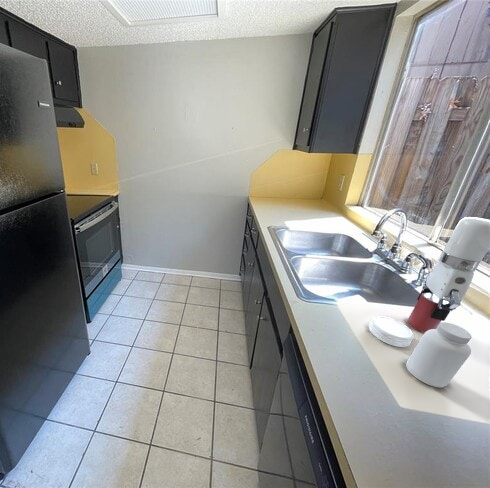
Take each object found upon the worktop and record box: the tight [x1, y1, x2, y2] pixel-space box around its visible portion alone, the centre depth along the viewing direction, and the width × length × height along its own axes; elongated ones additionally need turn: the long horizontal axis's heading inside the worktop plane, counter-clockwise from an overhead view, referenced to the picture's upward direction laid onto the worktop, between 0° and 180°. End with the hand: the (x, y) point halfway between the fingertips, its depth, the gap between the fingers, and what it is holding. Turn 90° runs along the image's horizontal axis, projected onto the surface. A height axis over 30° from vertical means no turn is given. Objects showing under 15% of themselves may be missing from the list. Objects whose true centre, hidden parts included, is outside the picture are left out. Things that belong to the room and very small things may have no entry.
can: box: [406, 293, 448, 334], centre depth 80 cm, size 7×7×11 cm
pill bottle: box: [405, 321, 472, 388], centre depth 63 cm, size 8×8×15 cm
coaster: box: [368, 315, 415, 348], centre depth 78 cm, size 10×10×4 cm
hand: (429, 309), depth 80 cm, fingers open, 8 cm apart
